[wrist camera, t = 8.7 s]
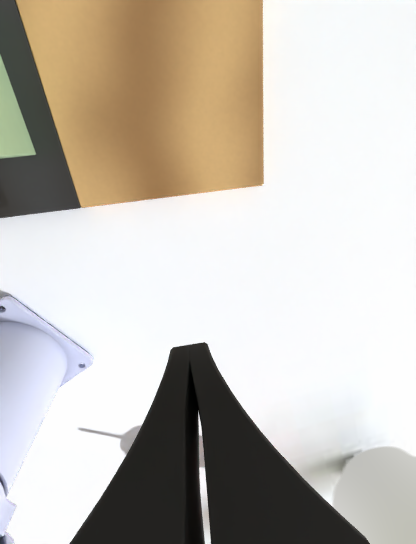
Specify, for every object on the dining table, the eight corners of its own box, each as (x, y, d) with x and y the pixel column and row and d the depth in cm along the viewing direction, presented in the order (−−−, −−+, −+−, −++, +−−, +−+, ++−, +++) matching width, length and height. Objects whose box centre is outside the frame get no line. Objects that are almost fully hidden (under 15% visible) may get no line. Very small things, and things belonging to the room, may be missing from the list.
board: (255, -101, 11) (262, -123, 10) (259, 183, 17) (264, 185, 16) (-244, -76, 10) (-285, -98, 9) (-68, 224, 15) (-83, 228, 14)
